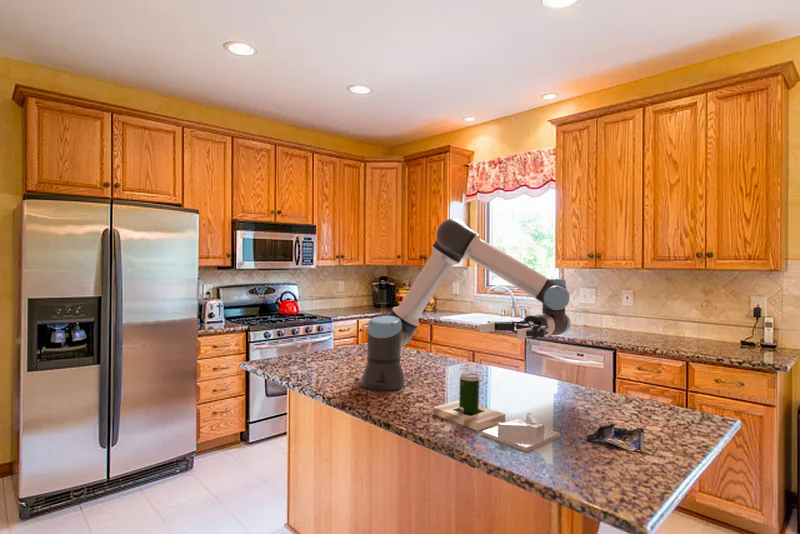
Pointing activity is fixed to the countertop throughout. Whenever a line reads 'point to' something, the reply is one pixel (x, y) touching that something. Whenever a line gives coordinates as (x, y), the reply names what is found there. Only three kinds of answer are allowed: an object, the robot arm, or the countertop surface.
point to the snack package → (619, 436)
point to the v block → (521, 433)
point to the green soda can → (469, 394)
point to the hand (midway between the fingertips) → (498, 331)
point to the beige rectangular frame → (475, 421)
